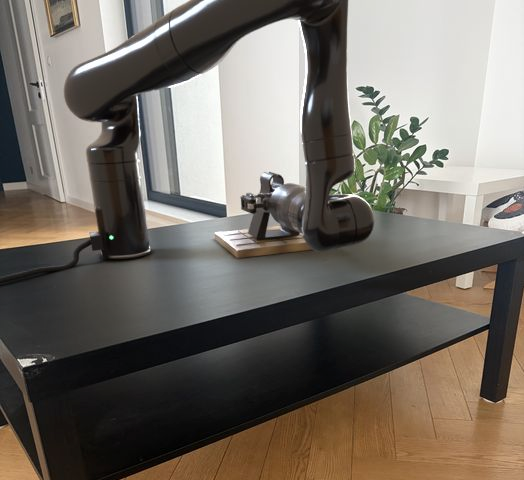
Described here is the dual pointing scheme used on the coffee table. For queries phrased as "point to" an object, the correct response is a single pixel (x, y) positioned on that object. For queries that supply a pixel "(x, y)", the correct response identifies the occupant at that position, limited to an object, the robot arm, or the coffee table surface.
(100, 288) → the coffee table surface
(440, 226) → the coffee table surface
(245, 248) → the board
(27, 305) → the coffee table surface
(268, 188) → the phone stand
